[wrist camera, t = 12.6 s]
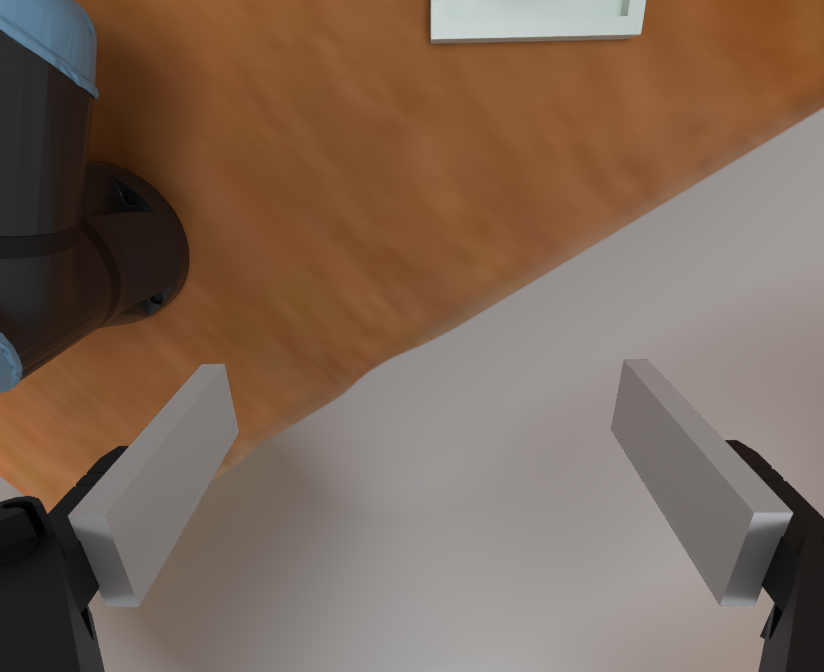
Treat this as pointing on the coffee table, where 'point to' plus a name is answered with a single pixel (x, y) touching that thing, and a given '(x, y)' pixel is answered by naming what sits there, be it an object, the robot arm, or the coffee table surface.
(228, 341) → the coffee table surface
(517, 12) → the tray
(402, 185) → the coffee table surface
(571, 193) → the coffee table surface
